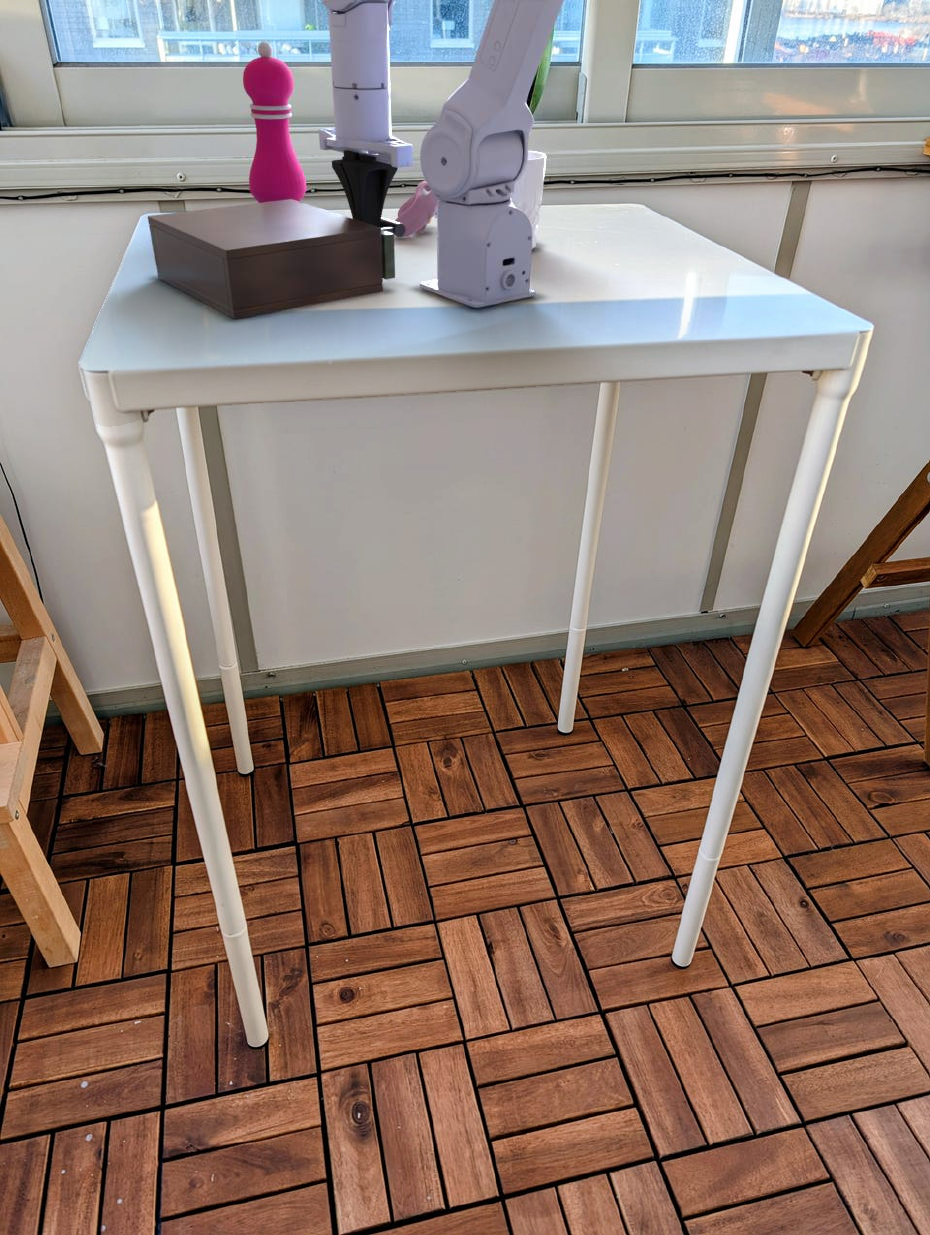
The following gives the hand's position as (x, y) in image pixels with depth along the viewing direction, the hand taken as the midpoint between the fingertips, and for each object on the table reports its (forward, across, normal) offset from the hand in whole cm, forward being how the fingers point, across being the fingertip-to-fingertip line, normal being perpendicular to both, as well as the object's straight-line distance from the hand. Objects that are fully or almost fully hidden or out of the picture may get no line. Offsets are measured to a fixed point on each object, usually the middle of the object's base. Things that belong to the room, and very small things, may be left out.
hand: (367, 232), depth 98 cm
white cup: (+4, +1, +19) cm, 20 cm away
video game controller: (+4, -12, +16) cm, 20 cm away
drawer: (+3, 0, -8) cm, 8 cm away
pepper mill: (+4, -26, +4) cm, 27 cm away
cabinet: (+4, 0, -12) cm, 13 cm away
